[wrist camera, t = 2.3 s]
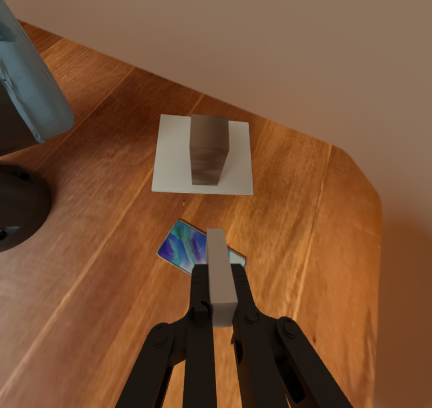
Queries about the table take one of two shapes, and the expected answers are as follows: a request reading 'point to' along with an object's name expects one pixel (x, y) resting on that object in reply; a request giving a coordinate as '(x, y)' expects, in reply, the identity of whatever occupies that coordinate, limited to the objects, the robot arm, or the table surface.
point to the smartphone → (189, 248)
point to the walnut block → (208, 148)
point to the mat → (181, 167)
